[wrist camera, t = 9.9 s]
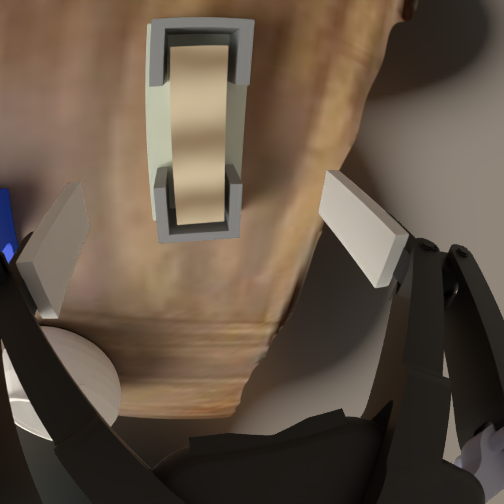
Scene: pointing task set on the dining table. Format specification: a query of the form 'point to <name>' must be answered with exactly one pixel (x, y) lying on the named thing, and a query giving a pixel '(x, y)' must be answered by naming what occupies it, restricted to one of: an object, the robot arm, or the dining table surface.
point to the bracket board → (159, 119)
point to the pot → (81, 370)
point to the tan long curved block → (198, 131)
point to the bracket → (7, 227)
